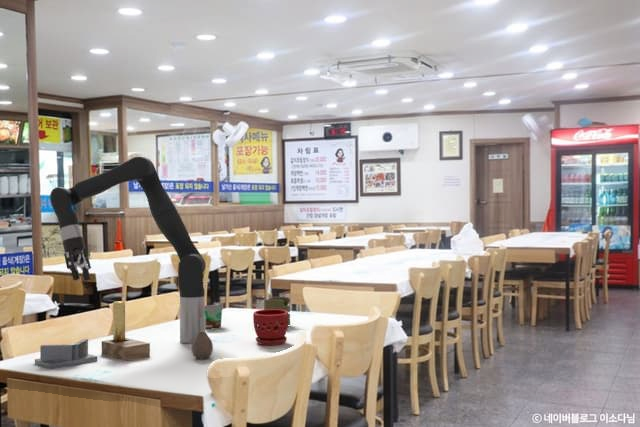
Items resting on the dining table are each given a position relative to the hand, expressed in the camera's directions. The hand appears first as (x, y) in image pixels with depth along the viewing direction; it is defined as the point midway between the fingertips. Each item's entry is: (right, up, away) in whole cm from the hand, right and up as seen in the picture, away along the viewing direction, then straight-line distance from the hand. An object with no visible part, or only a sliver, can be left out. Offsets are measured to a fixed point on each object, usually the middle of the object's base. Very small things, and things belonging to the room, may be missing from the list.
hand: (82, 280), depth 251 cm
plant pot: (+70, -24, +1) cm, 74 cm away
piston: (+70, -24, +40) cm, 84 cm away
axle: (+19, -24, -17) cm, 35 cm away
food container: (+44, -24, +37) cm, 62 cm away
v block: (+6, -24, -31) cm, 39 cm away
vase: (+49, -24, -25) cm, 60 cm away
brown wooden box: (+22, -24, -20) cm, 38 cm away
